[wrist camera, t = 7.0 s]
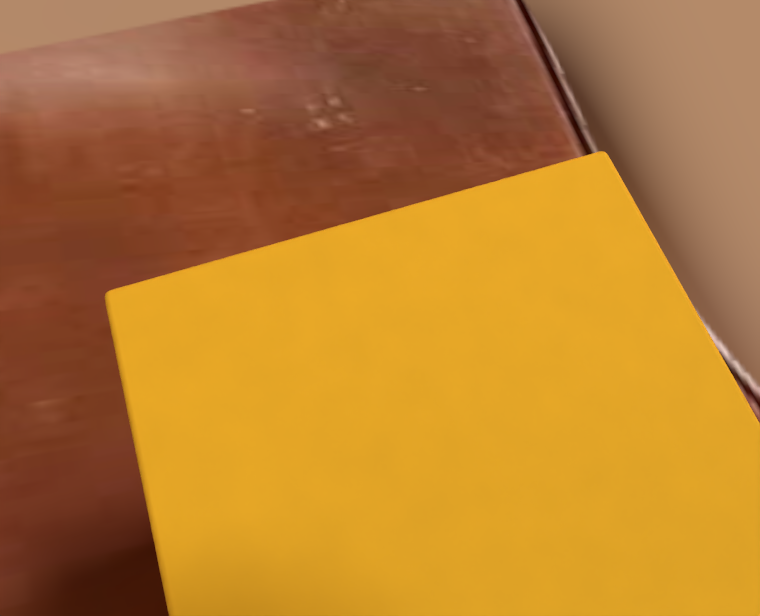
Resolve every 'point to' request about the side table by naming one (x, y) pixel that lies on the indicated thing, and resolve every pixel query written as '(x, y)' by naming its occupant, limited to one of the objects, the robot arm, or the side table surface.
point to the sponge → (444, 417)
